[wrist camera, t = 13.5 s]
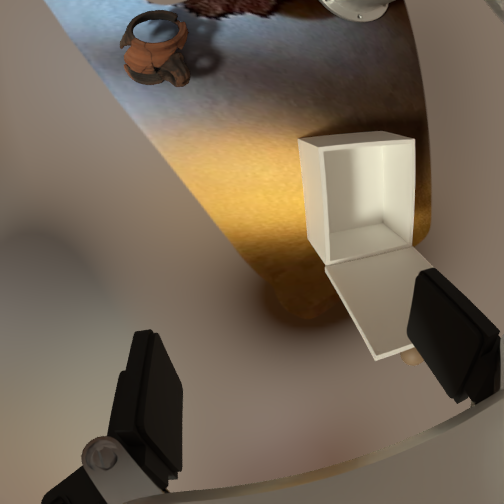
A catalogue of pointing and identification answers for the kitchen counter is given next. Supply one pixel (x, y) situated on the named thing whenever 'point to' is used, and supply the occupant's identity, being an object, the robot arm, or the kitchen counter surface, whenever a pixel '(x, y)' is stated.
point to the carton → (358, 193)
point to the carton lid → (381, 299)
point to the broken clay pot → (156, 53)
